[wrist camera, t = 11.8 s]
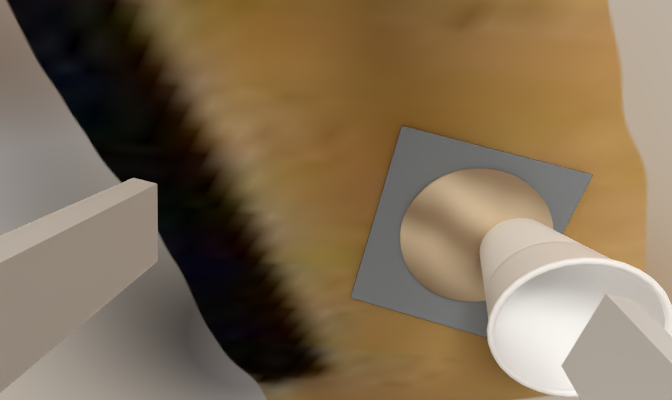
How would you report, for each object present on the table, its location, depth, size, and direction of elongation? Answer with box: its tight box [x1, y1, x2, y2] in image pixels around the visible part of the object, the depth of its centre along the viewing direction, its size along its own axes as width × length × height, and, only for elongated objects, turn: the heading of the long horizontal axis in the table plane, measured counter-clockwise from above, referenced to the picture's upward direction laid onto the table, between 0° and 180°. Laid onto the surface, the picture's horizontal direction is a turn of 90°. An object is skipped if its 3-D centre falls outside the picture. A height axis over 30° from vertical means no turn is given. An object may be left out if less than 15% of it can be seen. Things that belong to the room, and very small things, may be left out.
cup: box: [479, 218, 672, 397], centre depth 25 cm, size 10×10×11 cm
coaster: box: [400, 168, 553, 302], centre depth 31 cm, size 13×13×1 cm
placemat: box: [351, 126, 593, 337], centre depth 32 cm, size 18×16×1 cm
